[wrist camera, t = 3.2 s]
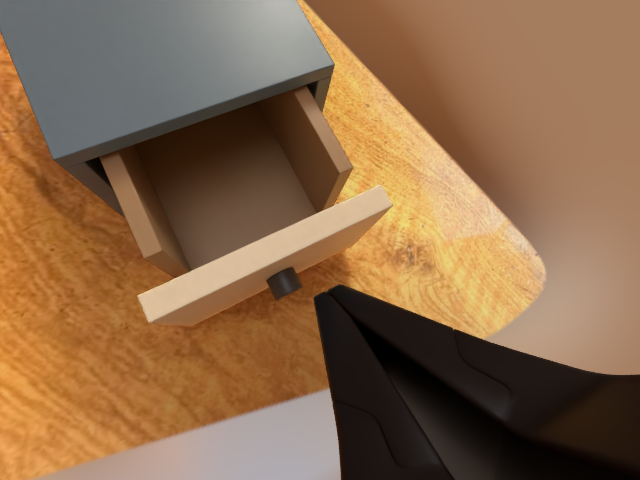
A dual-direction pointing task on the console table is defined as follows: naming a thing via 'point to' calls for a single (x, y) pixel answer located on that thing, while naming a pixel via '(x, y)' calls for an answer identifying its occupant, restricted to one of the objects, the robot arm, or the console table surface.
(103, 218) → the console table surface
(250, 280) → the drawer
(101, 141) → the cabinet
